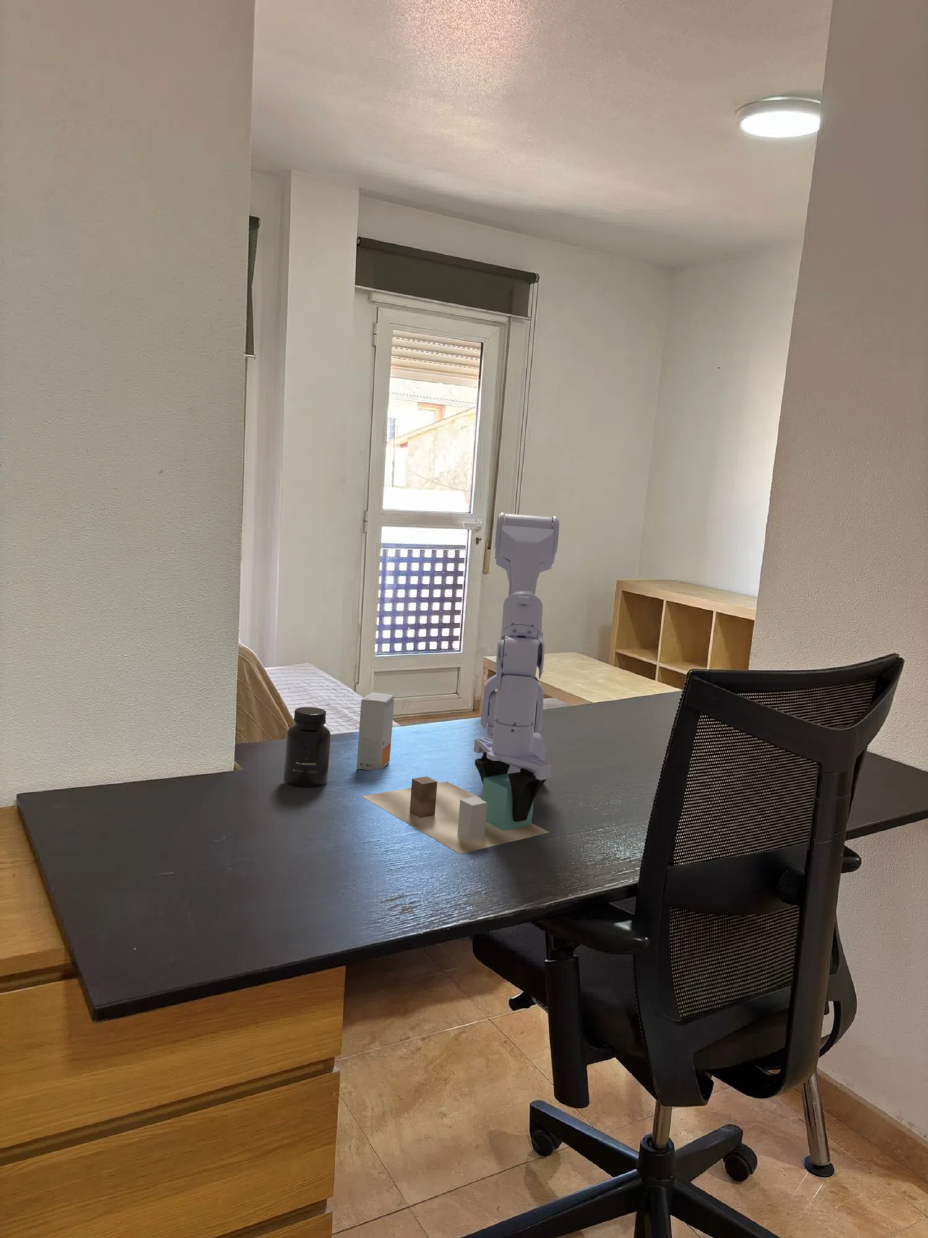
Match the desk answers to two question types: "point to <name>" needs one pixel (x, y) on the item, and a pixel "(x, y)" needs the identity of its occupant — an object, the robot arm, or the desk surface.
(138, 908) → the desk surface
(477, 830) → the grey post
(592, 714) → the desk surface
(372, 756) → the skincare box
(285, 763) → the supplement bottle
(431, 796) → the walnut post
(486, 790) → the teal green block
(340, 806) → the desk surface
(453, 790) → the board
